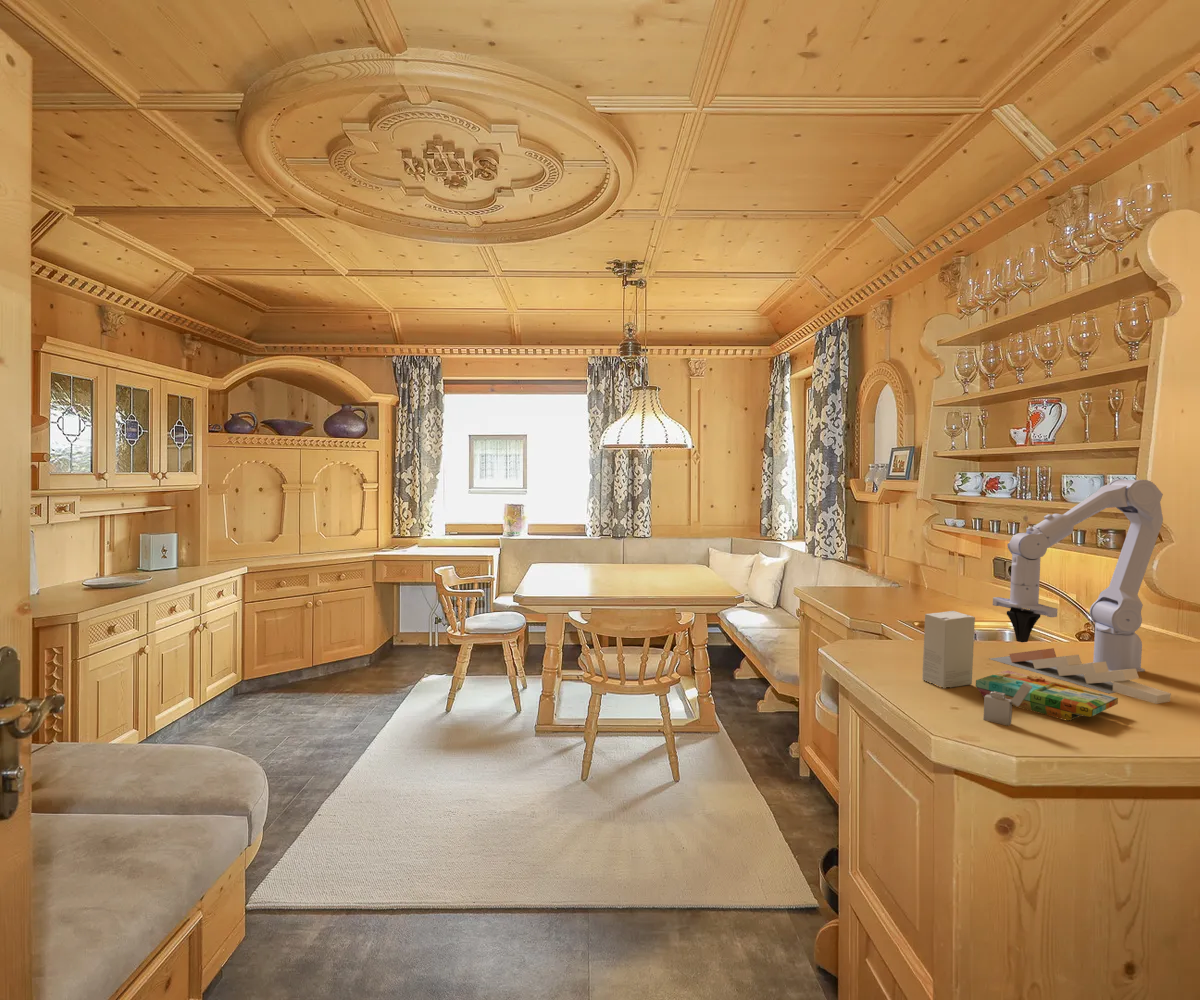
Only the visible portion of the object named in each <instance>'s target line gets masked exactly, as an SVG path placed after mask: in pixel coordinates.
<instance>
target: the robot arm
mask: <svg viewBox="0 0 1200 1000" xmlns="http://www.w3.org/2000/svg"><path fill="white" fill-rule="evenodd" d="M1163 495H1164V494H1163V492H1162V491H1161V490H1160V489H1159V487H1158V486H1157V484H1155V483H1154V482H1152V481H1151V480H1148V479H1122V478H1119V479H1114V480H1111V481H1110V482H1108V484H1105V485H1102V486H1100V488H1098V489H1097V490H1096V491H1095V492H1094V493H1092V494H1090V495H1089V496H1087V497H1086V498H1085V499H1083V500H1082V501H1081V502H1079V503H1078V504H1076V505H1075V506H1073V507H1072V508H1070V509H1069V510H1067V511H1066V512H1065V513H1063V514H1060V513H1053V514H1049V513H1048V514H1046V515H1044V516H1043V518H1044V519H1043V520H1042V521H1040V522H1038V523H1036V524H1034V525H1033V526H1028V527H1026V528H1025V529H1026V531H1025V532H1018V533H1016V534H1014V535H1013V536H1012V537H1011V539H1009V540H1010V541H1009V543H1007V546H1006V547H1007V549H1008V551H1009V552H1010V554H1011V568H1010V570H1011V572H1010V588H1009V589H1010V590H1009V591H1010V595H1009V598H1005V597H1001V596H1000V597H999V596H997V597H996V596H995V597H992V606H995V607H1002V608H1007V609H1009V610H1007V611H1006V616H1007V617H1008V619H1009V620H1010V622H1011V625H1012V628H1013V631H1014V634H1015V639H1016V642H1019V643H1028V642H1029V638H1030V636H1031V633H1032V631H1033V628H1034V626H1035V625H1036V624H1037V622H1038V621H1039V619H1040V618H1041V616H1046V617H1047V618H1057V617H1058V608H1056V607H1052V606H1049V605H1048V606H1047V605H1044V604H1041V603H1039V602H1040V599H1039V597H1040V582H1041V581H1040V578H1041V577H1040V576H1041V558H1042V557H1044V556H1045V555H1046V553H1047V550H1048V549H1049V548H1050V547H1052V546H1054V545H1056V544H1057V543H1059V542H1060V541H1062V540H1064V539H1065V538H1067V537H1068V536H1070V535H1072V534H1073V532H1074V527H1075V526H1076V525H1078V524H1080V523H1082V522H1083V521H1085V520H1088V519H1089V518H1091V517H1093V516H1094V515H1097V514H1098V513H1100V512H1101V511H1104V510H1105V509H1107V508H1108V509H1109V508H1116V509H1117V510H1119V511H1120V512H1122V513H1123V514H1124V516H1125V518H1127V520H1128V521H1129V522H1130V524H1129V527H1128V530H1127V533H1126V535H1125V539H1124V542H1123V545H1122V547H1121V551H1120V554H1119V556H1118V559H1117V562H1116V565H1115V568H1114V571H1113V574H1112V577H1111V579H1110V583H1109V584H1108V585H1109V586H1108V587H1106V588H1105V589H1103V590H1102V591H1100V593H1099V594H1098V597H1097V599H1096V600H1095V601H1094V602H1093V603H1092V604H1091V606H1090V608H1089V616H1090V618H1091V620H1092V622H1094V640H1093V641H1094V642H1093V643H1094V644H1093V645H1094V646H1093V661H1092V662H1091V663H1096V662H1106V664H1107V667H1108V670H1109V671H1115V670H1125V669H1135V668H1136V671H1137V673H1138V672H1145V671H1146V669H1145V668H1143V667H1142V654H1143V652H1142V651H1143V642H1142V639H1141V638H1140V635H1138V633H1136V632H1137V631H1138V630H1139V629H1140V627H1141V626H1142V623H1143V617H1142V609H1143V606H1144V605H1143V603H1142V601H1141V598H1140V597H1139V595H1138V594H1139V592H1140V588H1141V586H1142V583H1143V580H1144V578H1145V574H1146V570H1147V569H1148V565H1149V563H1150V560H1151V557H1152V554H1153V551H1154V548H1155V545H1156V543H1157V539H1158V536H1159V533H1160V531H1161V528H1162V525H1163V523H1164V522H1163V521H1164V517H1163V511H1162V505H1161V501H1162V499H1163V498H1162V497H1163Z"/></svg>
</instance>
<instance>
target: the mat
mask: <svg viewBox="0 0 1200 1000" xmlns="http://www.w3.org/2000/svg"><path fill="white" fill-rule="evenodd" d="M989 660H991V661H995V662H997V663H1001V664H1005V665H1007V666H1008V665H1009V666H1012V667H1016V668H1019V669H1022V670H1025V671H1030V672H1032V673H1036V674H1040V675H1044V676H1047V677H1050V678H1053V679H1056V680H1060V681H1064V682H1067V683H1069V684H1070V683H1071V684H1074V685H1077V686H1081V687H1084V688H1088V689H1091V690H1094V691H1095V690H1096V691H1098V692H1102V693H1106V694H1108V695H1109V694H1114V693H1116V692H1114V691H1112V690H1113V682H1102V683H1091V684H1087V683H1086V680H1085V677H1084V674H1078V675H1066V676H1059V674H1058V670H1057V667H1050V668H1040V669H1035V668H1034V665H1033V662H1032V660H1029V661H1020V662H1011V658H1010V655H1006V656H1000V657H999V656H998V657H991V658H989Z"/></svg>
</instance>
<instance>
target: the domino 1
mask: <svg viewBox="0 0 1200 1000" xmlns="http://www.w3.org/2000/svg"><path fill="white" fill-rule="evenodd" d="M1008 656H1010V658H1011V662H1020V661H1029V660H1038V659H1046V658H1054V657H1057V654H1056V651H1055V648H1054V647H1053V648H1044V649H1037V650H1031V651H1023V652H1022V651H1021V652H1014V653H1009V654H1008Z"/></svg>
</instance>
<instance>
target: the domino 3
mask: <svg viewBox="0 0 1200 1000" xmlns="http://www.w3.org/2000/svg"><path fill="white" fill-rule="evenodd" d="M1057 670H1058V674H1059V676H1066V675H1078V674H1090V673H1099V672H1106V671H1109V670H1108V667H1107V664H1106V662H1096V663H1092V662H1086V663H1082V664H1076V665H1068V666H1059V667H1057Z"/></svg>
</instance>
